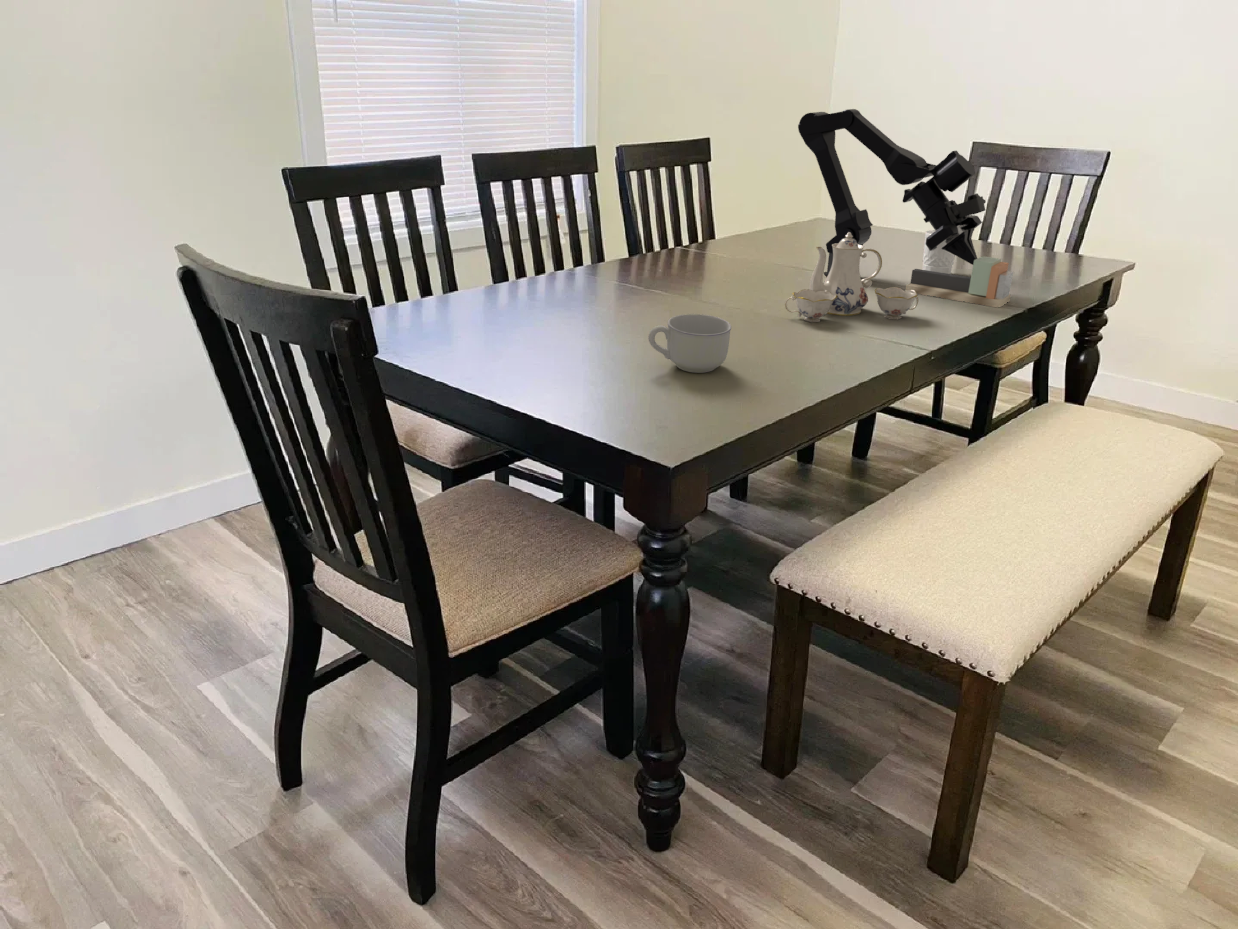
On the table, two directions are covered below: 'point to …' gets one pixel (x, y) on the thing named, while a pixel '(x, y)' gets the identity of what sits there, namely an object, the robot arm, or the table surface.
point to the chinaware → (847, 287)
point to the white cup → (937, 257)
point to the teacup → (694, 341)
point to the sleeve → (981, 275)
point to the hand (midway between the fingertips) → (976, 263)
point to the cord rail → (940, 280)
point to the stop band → (995, 278)
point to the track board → (957, 295)
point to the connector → (1004, 285)
